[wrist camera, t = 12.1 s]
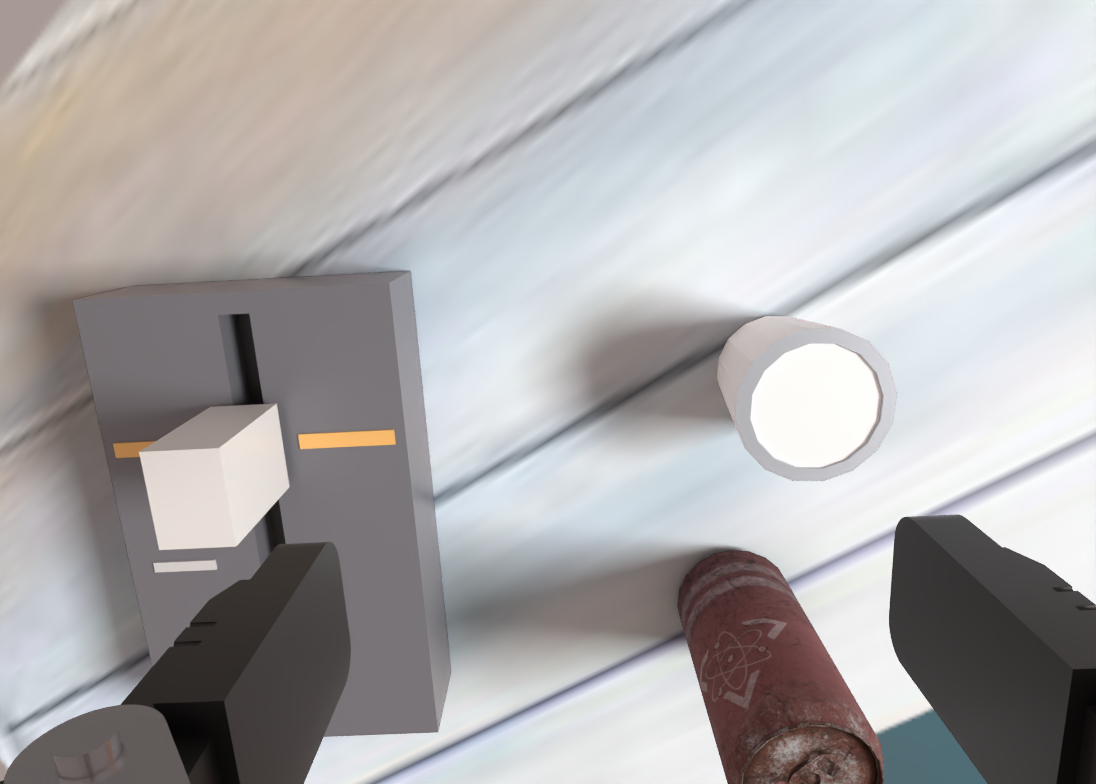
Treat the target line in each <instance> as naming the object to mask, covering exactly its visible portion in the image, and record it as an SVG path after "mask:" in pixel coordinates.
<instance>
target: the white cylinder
mask: <svg viewBox="0 0 1096 784" xmlns="http://www.w3.org/2000/svg"><path fill="white" fill-rule="evenodd" d="M717 381H718V384H719V386H720V389H721V392H722V395H723V398H724V400H725V403H726V405H727V407H728V410H729V412H730V414H731V417H732V419H733V421H734V424H735V426H736V429H737V431H738V433H739V436H740V438H741V440H742V443H743V445H744V447H745V449H746V450H747V451H748V452H749V453H750V454H751V455H752V456H753V457H754V458H755V459H756V460H757V461H758V462H759V464H760V465H761V466H762V467H763V468H764V469H766V470H768V471H770V472H773V473H775V474H778V475H780V476H782V477H785V478H787V479H790V480H792V481H825V480H828V479H830V478H833V477H836V476H839V475H842V474H844V473H847V472H850V471H853V470H854V469H855V468H857V467H858V466H859V465H860V464H861V463H863V462H864V461H865V460H866V459H867V458H869V457H870V456H871V455H872V454H874V453H875V452H876V451H877V450H878V448H879V447H880V445H881V443H882V442H883V440H884V438H885V436H886V435H887V433H888V431H889V429H890V428H891V426H892V424H893V420H894V413H895V406H896V398H897V390H896V387H895V383H894V380H893V376H892V373H891V370H890V366H889V364H888V362H887V361H886V360H885V359H884V358H883V357H882V356H881V355H880V353H879V352H878V351H877V350H876V349H875V348H874V347H873V345H872V344H871V343H870V342H869V341H867V340H865V339H862V338H860V337H858V336H855V335H853V334H851V333H849V332H846V331H844V330H842V329H839V328H835V327H831V326H826V325H822V324H818V323H814V322H810V321H805V320H801V319H797V318H793V317H789V316H764V317H761V318H759V319H756V320H753V321H751V322H748V323H746V324H744V325H743V326H742V327H741V328H740V329H738V330H737V331H736V332H735V333H734V334H733V335H732V336H731V337H730V338H728V340H727V342H726V344H725V346H724V348H723V350H722V352H721V354H720V356H719V358H718V371H717Z"/></svg>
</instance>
